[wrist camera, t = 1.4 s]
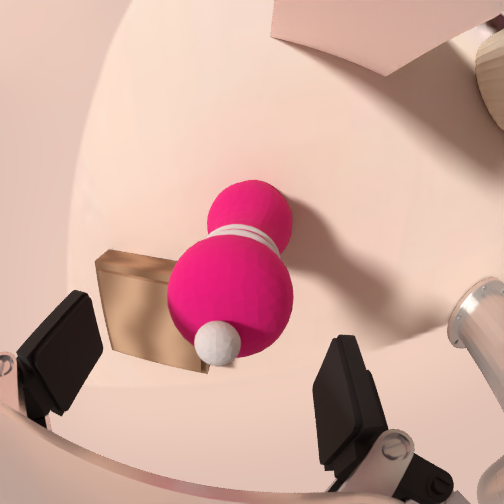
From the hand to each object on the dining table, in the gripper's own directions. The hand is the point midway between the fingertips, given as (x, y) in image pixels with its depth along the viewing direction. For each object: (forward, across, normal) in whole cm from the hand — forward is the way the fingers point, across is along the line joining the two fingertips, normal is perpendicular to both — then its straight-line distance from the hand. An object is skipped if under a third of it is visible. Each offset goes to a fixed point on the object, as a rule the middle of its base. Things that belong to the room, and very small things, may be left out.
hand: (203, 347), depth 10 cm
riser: (+20, +9, +14) cm, 26 cm away
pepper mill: (+20, -1, 0) cm, 20 cm away
